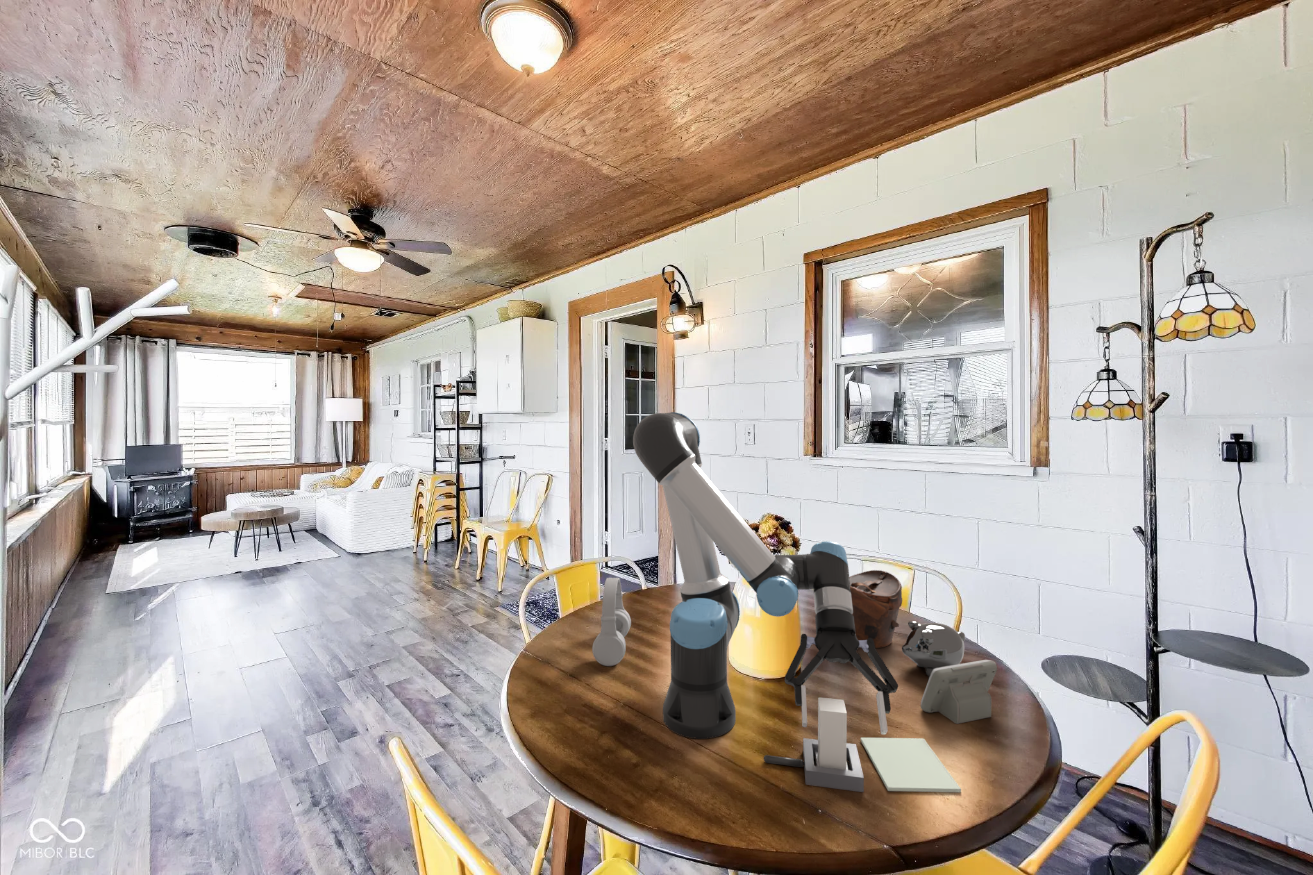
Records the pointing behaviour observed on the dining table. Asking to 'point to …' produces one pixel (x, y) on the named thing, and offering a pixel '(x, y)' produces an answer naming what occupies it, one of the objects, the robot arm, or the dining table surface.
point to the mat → (909, 765)
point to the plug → (832, 734)
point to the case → (875, 605)
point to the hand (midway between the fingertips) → (844, 729)
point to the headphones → (612, 626)
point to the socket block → (825, 775)
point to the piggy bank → (934, 645)
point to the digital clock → (960, 691)
